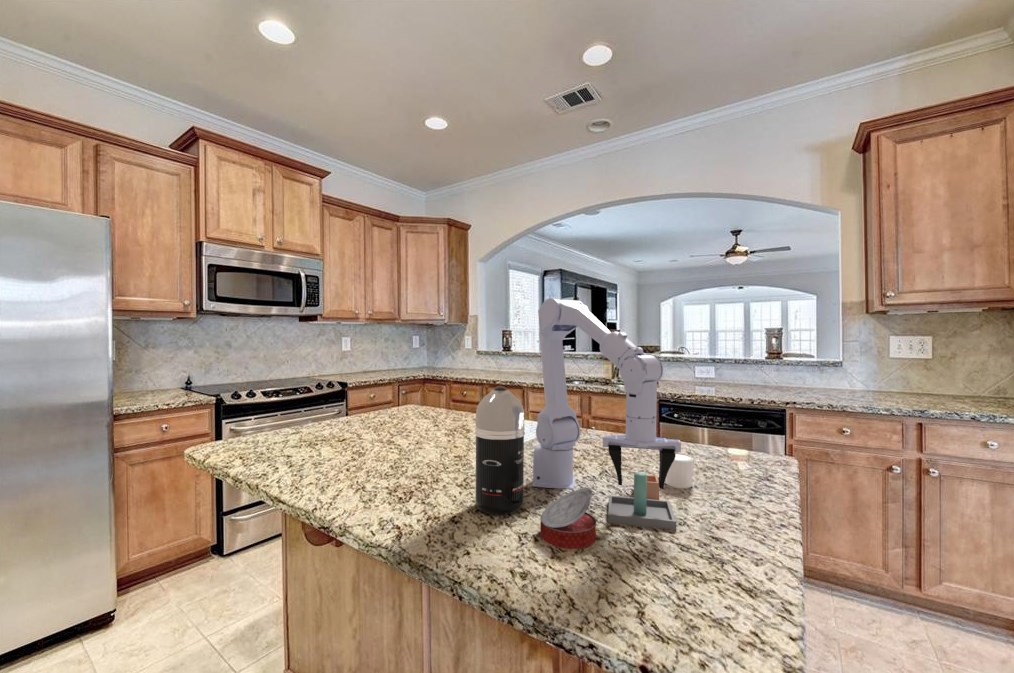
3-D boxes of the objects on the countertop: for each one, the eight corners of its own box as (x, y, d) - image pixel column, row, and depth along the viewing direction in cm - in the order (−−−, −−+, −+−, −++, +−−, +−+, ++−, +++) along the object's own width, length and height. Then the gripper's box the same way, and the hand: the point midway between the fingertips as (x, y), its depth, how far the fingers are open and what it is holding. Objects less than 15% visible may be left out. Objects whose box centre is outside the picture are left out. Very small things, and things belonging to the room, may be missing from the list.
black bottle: (530, 501, 92) (531, 384, 92) (515, 520, 83) (516, 390, 83) (485, 494, 96) (486, 382, 96) (466, 513, 86) (467, 387, 86)
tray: (608, 525, 81) (608, 514, 81) (608, 504, 91) (608, 495, 91) (676, 532, 78) (676, 521, 78) (669, 510, 88) (669, 501, 88)
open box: (634, 499, 94) (635, 481, 94) (633, 491, 99) (634, 473, 99) (659, 501, 93) (659, 483, 93) (656, 493, 97) (657, 475, 97)
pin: (633, 514, 84) (634, 475, 84) (633, 509, 86) (633, 471, 86) (646, 515, 83) (647, 476, 83) (645, 510, 85) (646, 472, 85)
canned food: (585, 576, 72) (580, 536, 68) (532, 553, 78) (524, 515, 73) (608, 523, 80) (605, 485, 76) (559, 506, 86) (554, 469, 81)
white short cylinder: (697, 492, 98) (697, 461, 98) (665, 489, 100) (665, 459, 100) (690, 482, 105) (691, 453, 105) (661, 480, 107) (661, 451, 107)
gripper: (602, 417, 82) (602, 489, 82) (683, 422, 79) (683, 496, 79) (603, 411, 89) (602, 477, 89) (678, 415, 86) (677, 483, 86)
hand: (640, 485), depth 84 cm, fingers open, 7 cm apart
